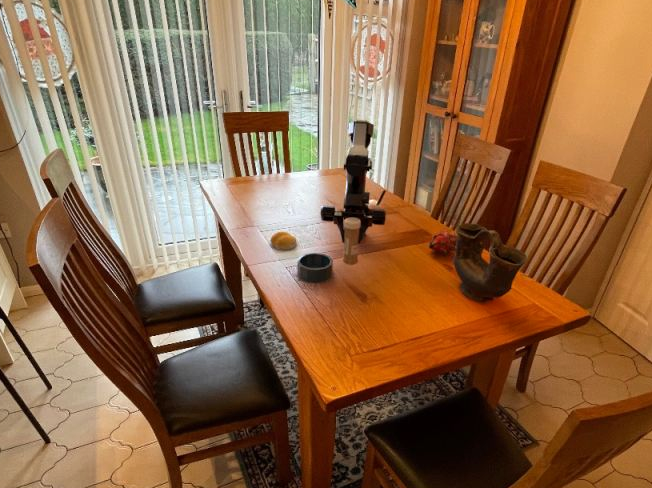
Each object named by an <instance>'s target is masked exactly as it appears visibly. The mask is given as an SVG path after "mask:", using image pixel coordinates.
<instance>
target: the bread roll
mask: <svg viewBox="0 0 652 488" xmlns="http://www.w3.org/2000/svg"><path fill="white" fill-rule="evenodd" d="M297 242H298V241H297V238H296V237H295V236H294V235H292V234H290V233H289V232H288V231H284V230H283V231H281V230H280V231H277V232H276V233H273V235H272V236H271V237H270V243H271V245H273V246H274V247H275V248H276V249H278V250H290V249H293V248H295V247H296V246H297Z"/></svg>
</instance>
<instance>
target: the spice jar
mask: <svg viewBox="0 0 652 488" xmlns="http://www.w3.org/2000/svg"><path fill="white" fill-rule="evenodd" d="M343 222H344V226H345V233H344V243H343V251H342V252H343V255H342V256H343V258H342V262H343V263H344V264H345V265H347V266H348V265H349V266H354V265H356V264H357V263H358V262H359V260H358V259H359V258H358V257H359V256H358V255H359V247H360V246H359V245H360V244H358V242H359V229H360V224H361V221H360V220H359V219H358V218H353V217H350V218H346V219H345V220H344V221H343Z"/></svg>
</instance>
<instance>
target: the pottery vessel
mask: <svg viewBox="0 0 652 488" xmlns="http://www.w3.org/2000/svg"><path fill="white" fill-rule="evenodd" d="M454 230H455V234H456V236H457V241H456V246H455V250H456V251H454V252H455V253H454V257H453V258H452V259H453V260H452V264H453V266H454V270H455V272H456V274H457V276H458V277H459V280H460V281H461V283H460V285H459V289H460V292H461V293H462V294H463V295H464V296H465V297H466V298H468V299H470V300H471V301H475V302H476V303H481V304H486V303H487V302H492V301H494V299H495V298H501V297H503V296H506V294H508V293H509V292H510V291H511V290H512V286H513V281H514V280H515V278H516V276H517V274H518V273H519V271H520V270H521V268H522V267H523V266H524V265H525V264H526V262H527V259H528V257H527V255H526V253H524V252H523V251H522V250H521V249H518V248H517V247H513V246H510V245H505V244H503V241H502V239H501V235H500V234H499V233H498V232H497V231H496V230H494V229H490V230H488V228H486V227H484V226H483V225H480V224H477V223H469V222H465V223H464V222H463V223H462V224H458V225H457V226H455V228H454ZM488 239H489V240H490V242H489V247H488V249H487V250H488V252H489V253H488V254H489V262H488V261H487V260H486V259H485V258H483V256H482V255H483V252H484V250H485V249H484V248H485V246H486V243H487V240H488Z"/></svg>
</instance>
